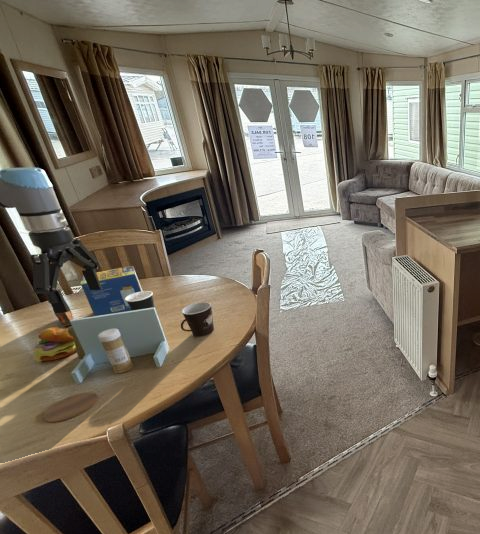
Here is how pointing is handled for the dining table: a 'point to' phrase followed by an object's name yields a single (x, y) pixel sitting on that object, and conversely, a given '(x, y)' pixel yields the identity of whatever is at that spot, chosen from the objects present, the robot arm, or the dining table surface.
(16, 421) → the dining table surface
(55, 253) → the robot arm
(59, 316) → the tin
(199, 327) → the coffee mug
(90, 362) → the light blue standing panel
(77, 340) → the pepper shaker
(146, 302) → the dixie cup
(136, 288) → the protein box
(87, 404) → the coaster
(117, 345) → the sprinkles bottle
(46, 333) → the cheeseburger
